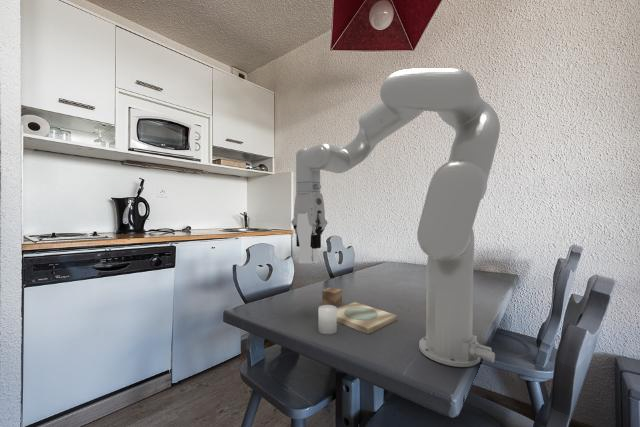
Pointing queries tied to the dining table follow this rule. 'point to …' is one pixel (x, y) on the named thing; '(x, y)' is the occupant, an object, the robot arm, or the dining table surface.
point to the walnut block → (332, 296)
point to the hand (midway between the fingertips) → (308, 246)
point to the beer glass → (306, 240)
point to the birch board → (364, 317)
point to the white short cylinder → (327, 319)
